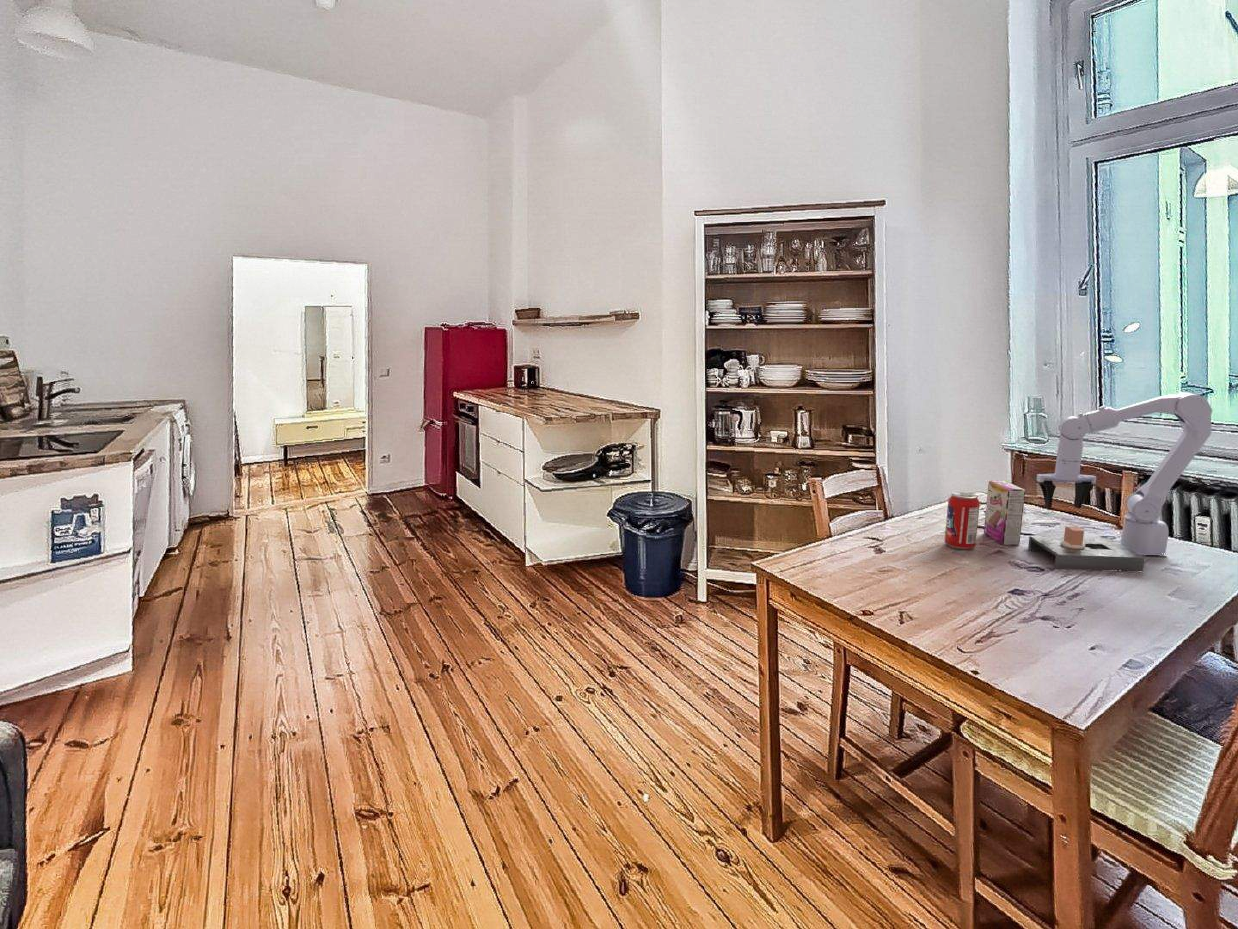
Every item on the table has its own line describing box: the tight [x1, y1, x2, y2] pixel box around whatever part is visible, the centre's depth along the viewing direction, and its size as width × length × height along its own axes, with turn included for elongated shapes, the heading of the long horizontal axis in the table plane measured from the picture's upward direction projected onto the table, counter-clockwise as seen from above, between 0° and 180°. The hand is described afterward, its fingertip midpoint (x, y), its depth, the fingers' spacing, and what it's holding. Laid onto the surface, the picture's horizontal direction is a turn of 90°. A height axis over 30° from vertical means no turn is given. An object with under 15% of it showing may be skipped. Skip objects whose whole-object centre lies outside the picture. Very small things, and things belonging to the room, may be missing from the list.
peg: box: [1060, 525, 1085, 549], centre depth 176 cm, size 5×5×7 cm
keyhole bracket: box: [1027, 535, 1146, 572], centre depth 176 cm, size 20×16×4 cm
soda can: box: [943, 491, 981, 551], centre depth 187 cm, size 8×8×15 cm
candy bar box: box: [983, 480, 1026, 546], centre depth 193 cm, size 11×5×16 cm, turn 179°
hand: (1062, 507), depth 189 cm, fingers open, 7 cm apart
